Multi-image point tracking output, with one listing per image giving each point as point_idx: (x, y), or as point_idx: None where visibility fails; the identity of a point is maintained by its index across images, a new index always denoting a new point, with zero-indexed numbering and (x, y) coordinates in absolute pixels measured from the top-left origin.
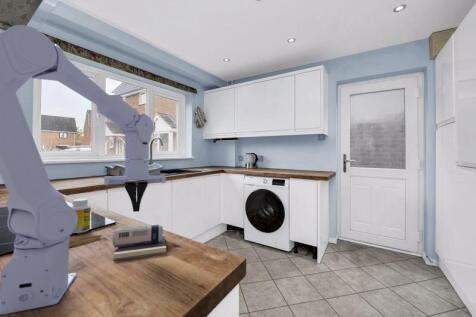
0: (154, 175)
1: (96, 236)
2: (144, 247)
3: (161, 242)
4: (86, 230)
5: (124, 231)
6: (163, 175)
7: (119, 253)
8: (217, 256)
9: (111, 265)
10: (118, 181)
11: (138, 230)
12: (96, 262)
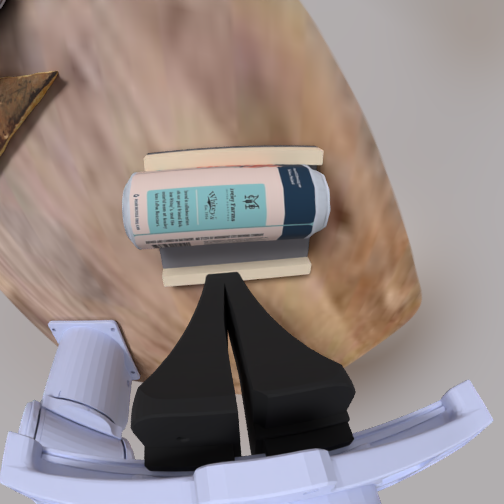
0: (438, 453)
1: (43, 87)
2: None
3: None
4: (2, 4)
5: (170, 243)
6: (481, 429)
7: (179, 285)
8: (396, 297)
9: (169, 295)
10: (103, 478)
11: (227, 239)
12: (125, 272)
